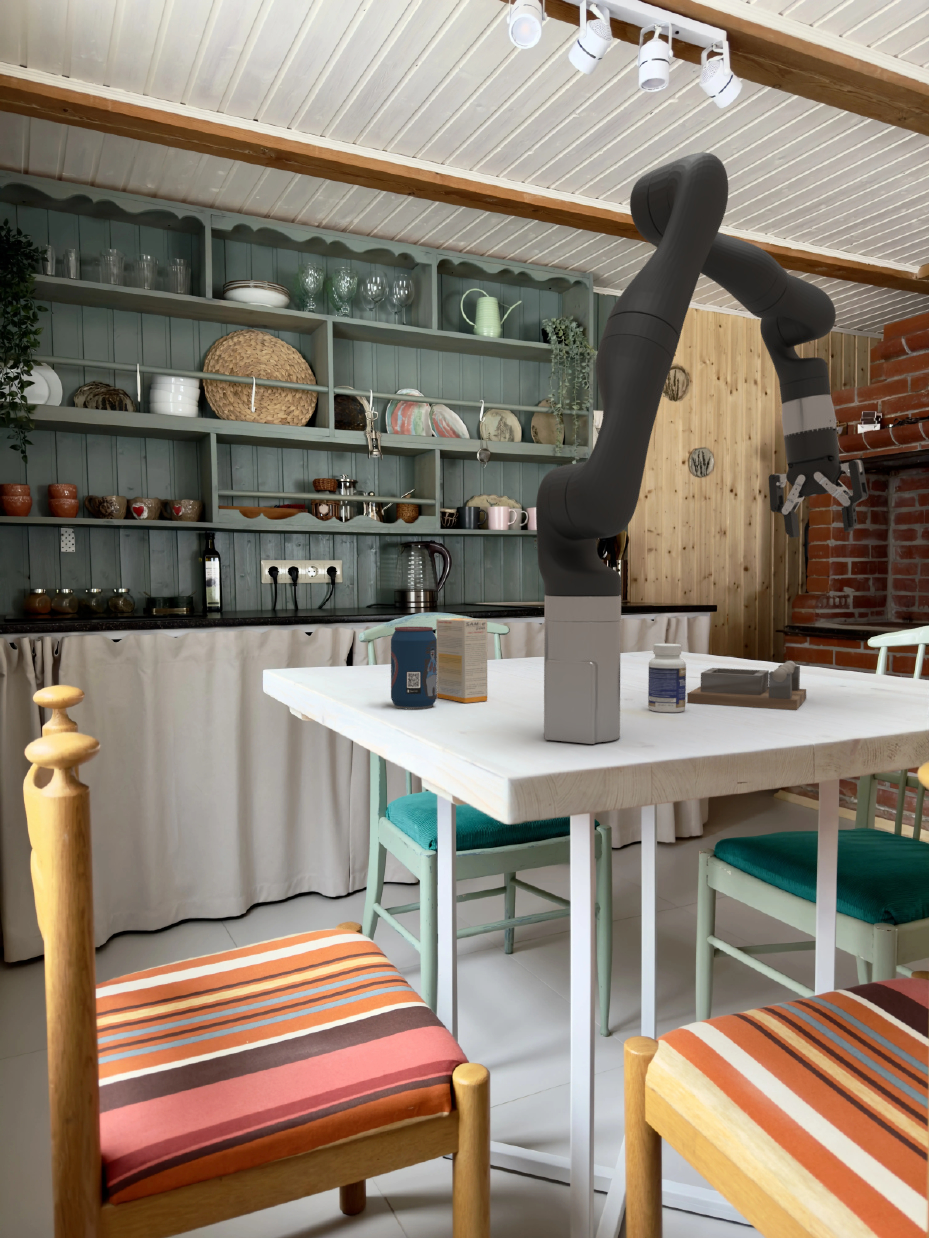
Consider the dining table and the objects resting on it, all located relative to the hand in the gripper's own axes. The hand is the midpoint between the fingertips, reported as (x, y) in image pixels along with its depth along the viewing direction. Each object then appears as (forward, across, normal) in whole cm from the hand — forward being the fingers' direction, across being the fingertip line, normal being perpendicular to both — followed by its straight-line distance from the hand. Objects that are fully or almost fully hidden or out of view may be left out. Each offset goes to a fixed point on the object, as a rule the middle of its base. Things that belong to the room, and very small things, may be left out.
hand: (821, 534), depth 131 cm
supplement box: (+18, -43, -41) cm, 62 cm away
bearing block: (+24, -11, -9) cm, 28 cm away
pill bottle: (+22, -14, -27) cm, 38 cm away
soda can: (+16, -42, -51) cm, 69 cm away
